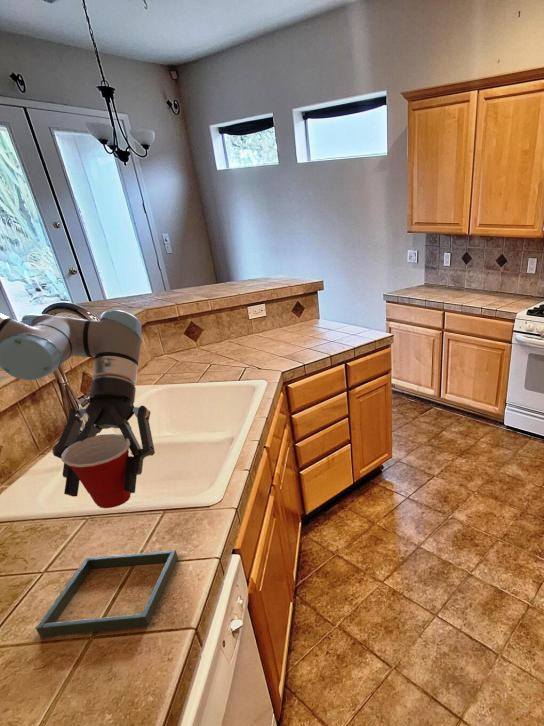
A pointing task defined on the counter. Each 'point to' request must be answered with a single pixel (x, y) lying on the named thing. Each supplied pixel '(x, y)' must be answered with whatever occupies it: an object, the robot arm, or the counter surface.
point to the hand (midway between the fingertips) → (100, 493)
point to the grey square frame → (52, 628)
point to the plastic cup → (101, 467)
